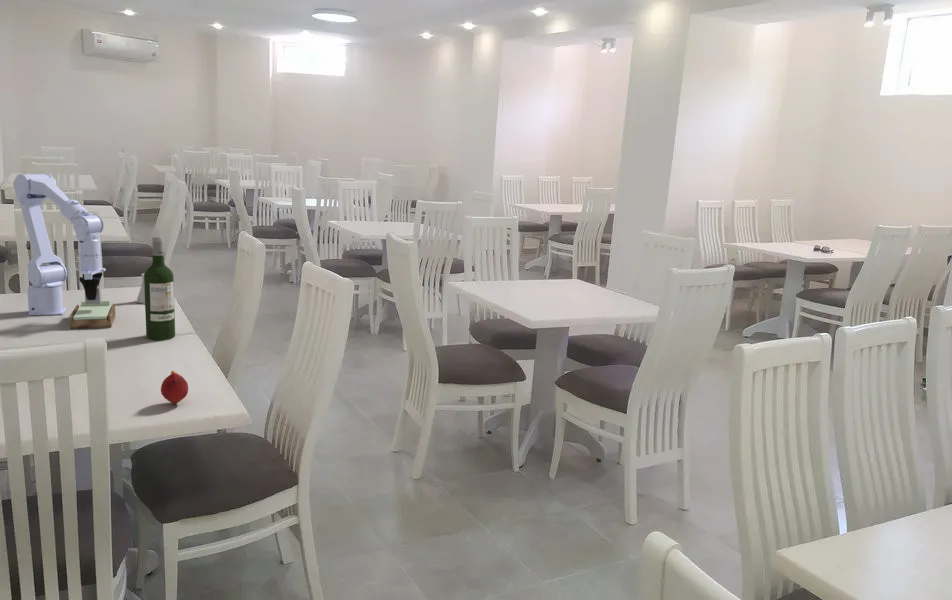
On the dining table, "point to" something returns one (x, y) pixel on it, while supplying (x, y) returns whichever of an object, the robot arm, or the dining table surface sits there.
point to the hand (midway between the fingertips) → (92, 297)
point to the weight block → (98, 297)
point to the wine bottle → (159, 296)
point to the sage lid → (93, 311)
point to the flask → (141, 293)
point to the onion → (174, 388)
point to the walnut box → (92, 320)
